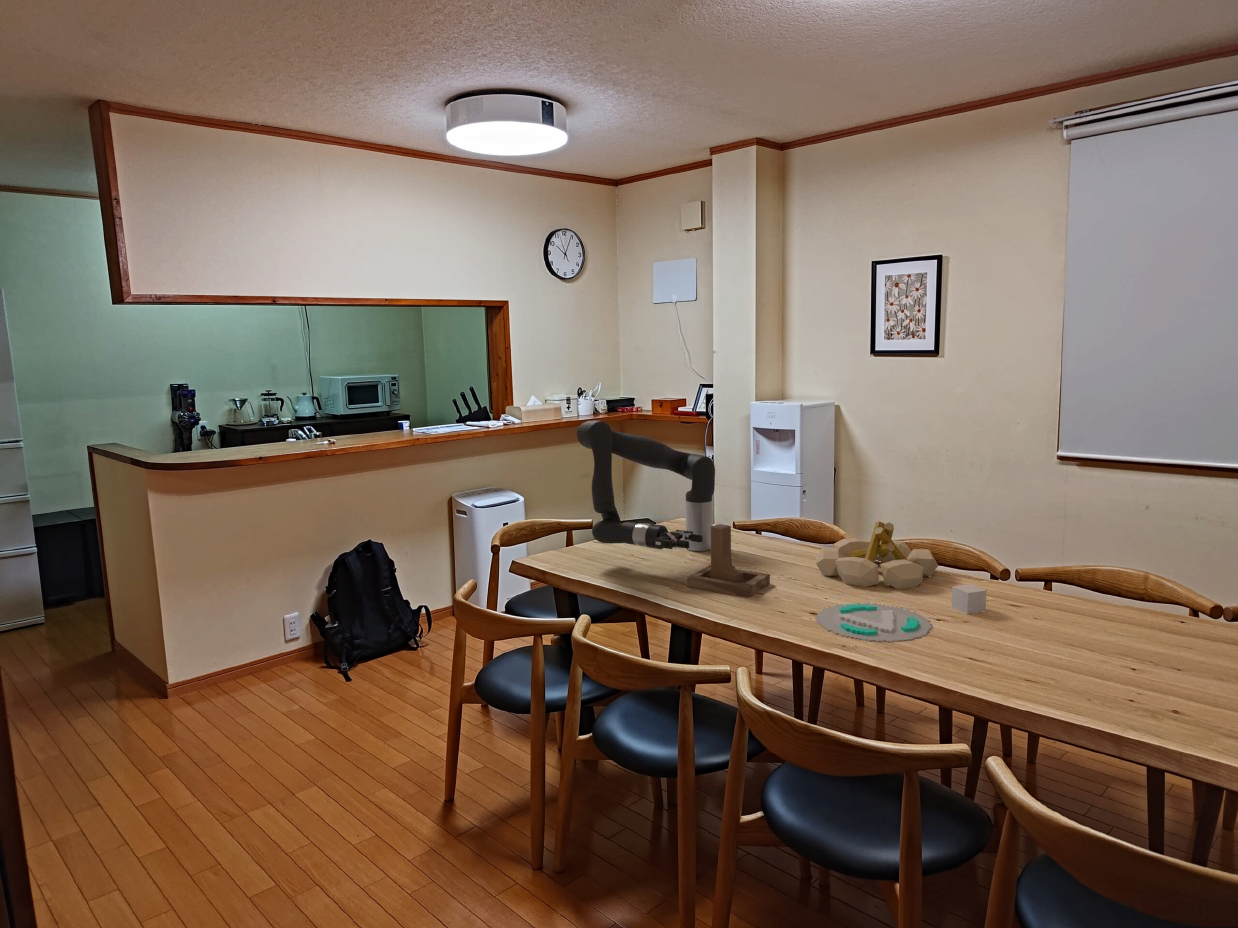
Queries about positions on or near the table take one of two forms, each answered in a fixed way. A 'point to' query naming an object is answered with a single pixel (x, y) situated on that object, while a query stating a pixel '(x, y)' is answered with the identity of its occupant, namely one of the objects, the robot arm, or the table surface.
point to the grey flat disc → (873, 622)
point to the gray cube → (969, 598)
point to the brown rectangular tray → (729, 582)
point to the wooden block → (723, 555)
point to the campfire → (859, 555)
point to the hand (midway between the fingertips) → (695, 541)
